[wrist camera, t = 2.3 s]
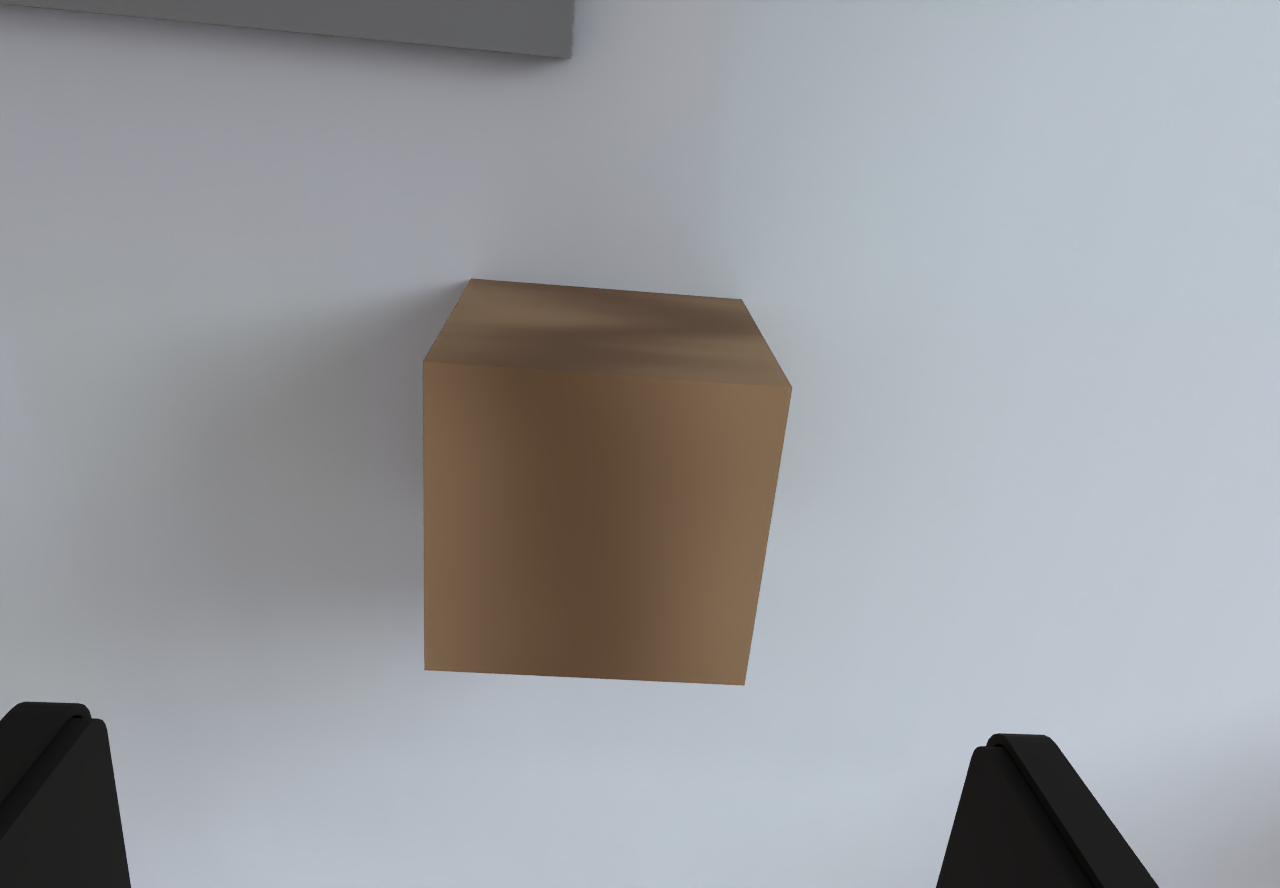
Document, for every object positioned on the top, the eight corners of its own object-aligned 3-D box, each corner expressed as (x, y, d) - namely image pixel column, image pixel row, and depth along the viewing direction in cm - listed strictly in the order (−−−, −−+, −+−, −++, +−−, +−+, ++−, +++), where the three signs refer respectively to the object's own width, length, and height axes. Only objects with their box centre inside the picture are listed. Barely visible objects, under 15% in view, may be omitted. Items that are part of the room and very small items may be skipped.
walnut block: (740, 298, 19) (792, 387, 14) (709, 533, 21) (744, 685, 16) (472, 277, 18) (422, 361, 13) (468, 519, 21) (424, 670, 16)
